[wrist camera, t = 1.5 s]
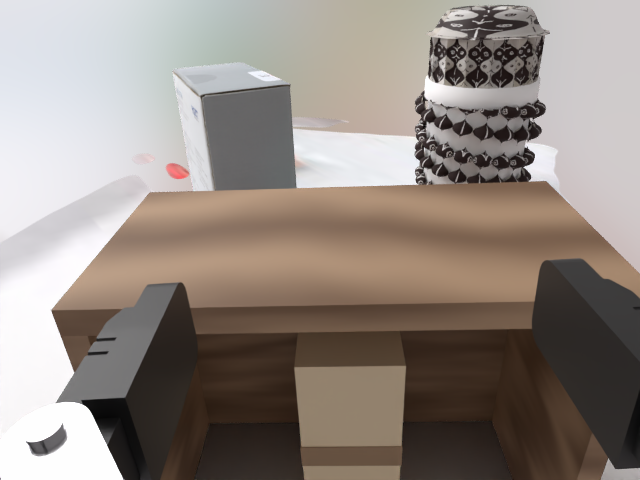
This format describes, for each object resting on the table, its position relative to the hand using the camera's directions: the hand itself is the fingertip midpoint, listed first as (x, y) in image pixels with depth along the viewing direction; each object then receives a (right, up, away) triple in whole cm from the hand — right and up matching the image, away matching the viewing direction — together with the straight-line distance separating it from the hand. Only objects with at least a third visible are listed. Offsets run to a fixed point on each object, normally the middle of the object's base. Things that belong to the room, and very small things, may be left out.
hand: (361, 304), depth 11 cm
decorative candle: (+11, -5, +34) cm, 36 cm away
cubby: (+1, -13, +19) cm, 23 cm away
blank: (+1, -14, +19) cm, 23 cm away
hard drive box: (-9, -1, +43) cm, 43 cm away
